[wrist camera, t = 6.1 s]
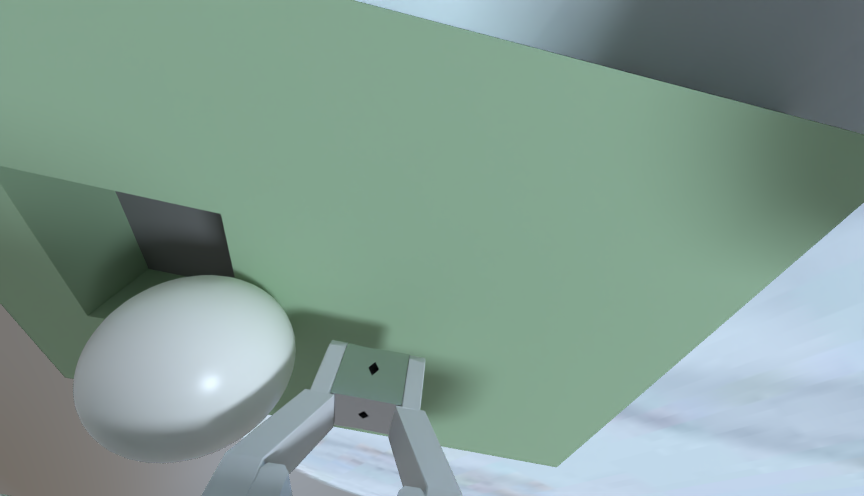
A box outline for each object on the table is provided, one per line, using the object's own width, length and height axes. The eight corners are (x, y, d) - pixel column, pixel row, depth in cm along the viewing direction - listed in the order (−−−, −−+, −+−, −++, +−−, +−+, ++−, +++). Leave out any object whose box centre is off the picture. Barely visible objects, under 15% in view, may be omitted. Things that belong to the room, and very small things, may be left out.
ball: (302, 246, 10) (124, 234, 9) (235, 414, 6) (-78, 416, 5) (318, 337, 13) (186, 333, 12) (280, 484, 9) (88, 490, 9)
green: (-126, -126, 8) (-449, -210, 5) (785, 113, 10) (923, 150, 7) (126, 323, 18) (64, 377, 16) (543, 404, 20) (556, 467, 17)
